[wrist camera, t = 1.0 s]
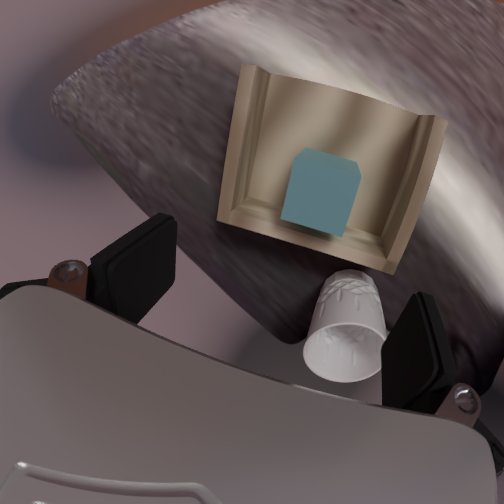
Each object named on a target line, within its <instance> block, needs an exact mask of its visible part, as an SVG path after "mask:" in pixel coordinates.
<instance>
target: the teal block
mask: <svg viewBox="0 0 504 504" xmlns="http://www.w3.org/2000/svg"><path fill="white" fill-rule="evenodd" d="M361 177H362V176H361V173H360V170H359V167H358V164H357V162H355V161H352V160H348V159H345V158H342V157H339V156H335V155H332V154H328V153H325V152H321V151H318V150H314V149H310V148H307V147H306V148H305V149H303V150H302V151H301V152H300V153H299V154H297V155H296V156H295V158H294V162H293V167H292V171H291V175H290V180H289V184H288V189H287V193H286V197H285V201H284V206H283V210H282V214H281V218H280V219H283V220H286V221H290V222H293V223H296V224H300V225H303V226H306V227H310V228H313V229H316V230H319V231H323V232H326V233H329V234H332V235H335V236H339V237H343V234H344V231H345V228H346V225H347V222H348V219H349V216H350V213H351V210H352V207H353V203H354V200H355V197H356V194H357V191H358V187H359V184H360V181H361Z"/></svg>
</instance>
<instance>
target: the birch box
mask: <svg viewBox="0 0 504 504" xmlns="http://www.w3.org/2000/svg"><path fill="white" fill-rule="evenodd" d="M447 123H448V121H446V120H444V119H442V118H440V117H438V116H435V115H417V114H415V113H412V112H410V111H407V110H404V109H402V108H399V107H396V106H394V105H391V104H388V103H385V102H382V101H380V100H377V99H374V98H370V97H367V96H364V95H361V94H358V93H354V92H351V91H347V90H344V89H340V88H336V87H332V86H328V85H324V84H320V83H316V82H311V81H307V80H302V79H297V78H292V77H286V76H280V75H274V74H270V73H269V72H267V71H265V70H263V69H262V68H260V67H258V66H256V65H248V64H242V67H241V72H240V77H239V82H238V88H237V93H236V99H235V105H234V110H233V116H232V122H231V128H230V134H229V140H228V146H227V153H226V159H225V166H224V172H223V179H222V186H221V193H220V200H219V207H218V215H217V221H220V222H223V223H227V224H230V225H234V226H237V227H240V228H244V229H247V230H251V231H254V232H257V233H261V234H264V235H267V236H271V237H274V238H277V239H281V240H284V241H287V242H291V243H294V244H297V245H300V246H304V247H307V248H310V249H313V250H317V251H320V252H323V253H326V254H329V255H333V256H336V257H339V258H342V259H345V260H349V261H352V262H355V263H358V264H361V265H364V266H367V267H370V268H374V269H377V270H380V271H383V272H386V273H389V274H392V275H393V274H394V272H395V270H396V268H397V266H398V264H399V261H400V259H401V257H402V255H403V252H404V250H405V248H406V246H407V243H408V241H409V238H410V236H411V234H412V231H413V229H414V226H415V224H416V221H417V219H418V216H419V213H420V211H421V208H422V205H423V203H424V200H425V197H426V194H427V191H428V189H429V186H430V183H431V180H432V176H433V173H434V170H435V167H436V164H437V160H438V157H439V153H440V150H441V146H442V143H443V139H444V135H445V131H446V127H447ZM306 147H307V148H310V149H314V150H318V151H321V152H325V153H328V154H332V155H335V156H339V157H342V158H345V159H348V160H352V161H355V162H357V164H358V167H359V170H360V173H361V176H362V177H361V181H360V184H359V187H358V191H357V194H356V197H355V200H354V203H353V207H352V210H351V213H350V216H349V219H348V222H347V225H346V228H345V231H344V234H343V237H339V236H335V235H332V234H329V233H326V232H323V231H319V230H316V229H313V228H310V227H306V226H303V225H300V224H296V223H293V222H290V221H286V220H283V219H280V218H281V214H282V210H283V206H284V201H285V197H286V193H287V189H288V184H289V180H290V175H291V171H292V167H293V162H294V158H295V156H296V155H297V154H299V153H300V152H301V151H302V150H303V149H305V148H306Z"/></svg>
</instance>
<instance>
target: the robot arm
mask: <svg viewBox="0 0 504 504" xmlns="http://www.w3.org/2000/svg"><path fill="white" fill-rule="evenodd" d="M176 240H177V222H176V221H174V217H173V216H170V215H167V214H163V213H158V214H156V215H154V216H153V217H151V218H150V219H148V220H147V221H145V222H143V223H142V224H140V225H139V226H137V227H136V228H134V229H133V230H131V231H130V232H128V233H127V234H125V235H124V236H122V237H121V238H119V239H118V240H116V241H115V242H113V243H112V244H110V245H109V246H107V247H106V248H104V249H103V250H101V251H100V252H99V253H97V254H96V255H95V256H93V257H92V258H90V260H91V265H90V266H88V267H87V265H86V264H85V263H84V262H82V261H79V260H66V261H63V262H60V263H58V264H57V265H55V266H54V267H53V268H52V269H51V272H50V274H49V278H45V279H37V280H28V281H21V282H13V283H8V284H6V285H4V286H3V287H2V288H1V289H0V504H504V470H503V467H504V447H503V445H502V444H501V443H500V442H499V441H498V440H497V438H496V437H495V436H494V435H493V434H492V433H491V432H490V431H489V430H488V428H487V427H486V426H485V425H484V424H483V423H482V422H481V421H480V420H479V419H478V416H479V413H480V410H481V402H480V399H479V396H478V395H477V393H476V392H475V390H474V389H473V388H471V387H470V386H469V385H466V384H464V383H458V384H456V383H455V379H456V377H457V376H458V373H457V369H456V365H455V362H454V358H453V355H452V351H451V348H450V344H449V341H448V338H447V335H446V332H445V328H444V325H443V322H442V320H441V317H440V314H439V311H438V308H437V306H436V303H435V300H434V297H433V296H432V295H430V294H427V293H423V292H418V293H417V294H413V295H412V296H411V298H410V300H409V301H408V303H407V305H406V307H405V308H404V310H403V312H402V314H401V315H400V317H399V319H398V320H397V322H396V324H395V325H394V327H393V329H392V330H391V332H390V333H389V335H388V336H387V338H386V340H385V341H384V343H383V345H382V347H381V370H382V405H377V404H372V403H367V402H363V401H358V400H353V399H349V398H345V397H340V396H336V395H332V394H328V393H324V392H320V391H317V390H313V389H309V388H306V387H302V386H298V385H295V384H291V383H288V382H285V381H281V380H278V379H275V378H271V377H269V376H265V375H262V374H259V373H256V372H253V371H250V370H247V369H244V368H242V367H239V366H236V365H233V364H230V363H227V362H225V361H222V360H219V359H217V358H214V357H211V356H208V355H206V354H204V353H201V352H198V351H196V350H194V349H191V348H189V347H186V346H184V345H181V344H179V343H176V342H174V341H172V340H169V339H167V338H165V337H163V336H160V335H158V334H156V333H153V332H151V331H149V330H147V329H145V328H142V327H141V326H138V325H137V324H138V323H139V322H140V320H141V319H142V318H143V317H144V316H145V315H146V314H147V313H148V311H149V310H150V309H151V308H152V307H153V306H154V305H155V304H156V303H157V302H158V300H159V299H160V298H161V297H162V296H163V295H164V294H165V293H166V292H167V291H168V290H169V288H170V287H171V286H172V285H173V283H174V280H175V263H176Z"/></svg>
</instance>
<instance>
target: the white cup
mask: <svg viewBox="0 0 504 504" xmlns="http://www.w3.org/2000/svg"><path fill="white" fill-rule="evenodd" d="M386 338H387V333H386V326H385V321H384V315H383V311H382V306H381V302H380V299H379V295H378V290H377V287H376V285H375V283H374V281H373V279H372V278H371V277H369V276H368V275H367V274H365V273H364V272H362V271H358V270H352V269H346V270H342V271H338V272H335V273H334V274H332V275H331V276H330V277H328V278H327V279H326V280H325V282H324V284H323V286H322V288H321V291H320V295H319V298H318V300H317V304H316V307H315V310H314V313H313V317H312V320H311V324H310V327H309V331H308V334H307V338H306V341H305V344H304V348H303V357H304V361H305V363H306V364H307V366H308V367H309V368H310V370H312V371H313V372H314V373H315V374H317V375H318V376H320V377H322V378H325V379H327V380H331V381H335V382H354V381H360V380H363V379H366V378H368V377H370V376H372V375H374V374H375V373H377V372H378V371H379V370H380V369H381V347H382V345H383V343H384V341H385V340H386Z"/></svg>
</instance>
